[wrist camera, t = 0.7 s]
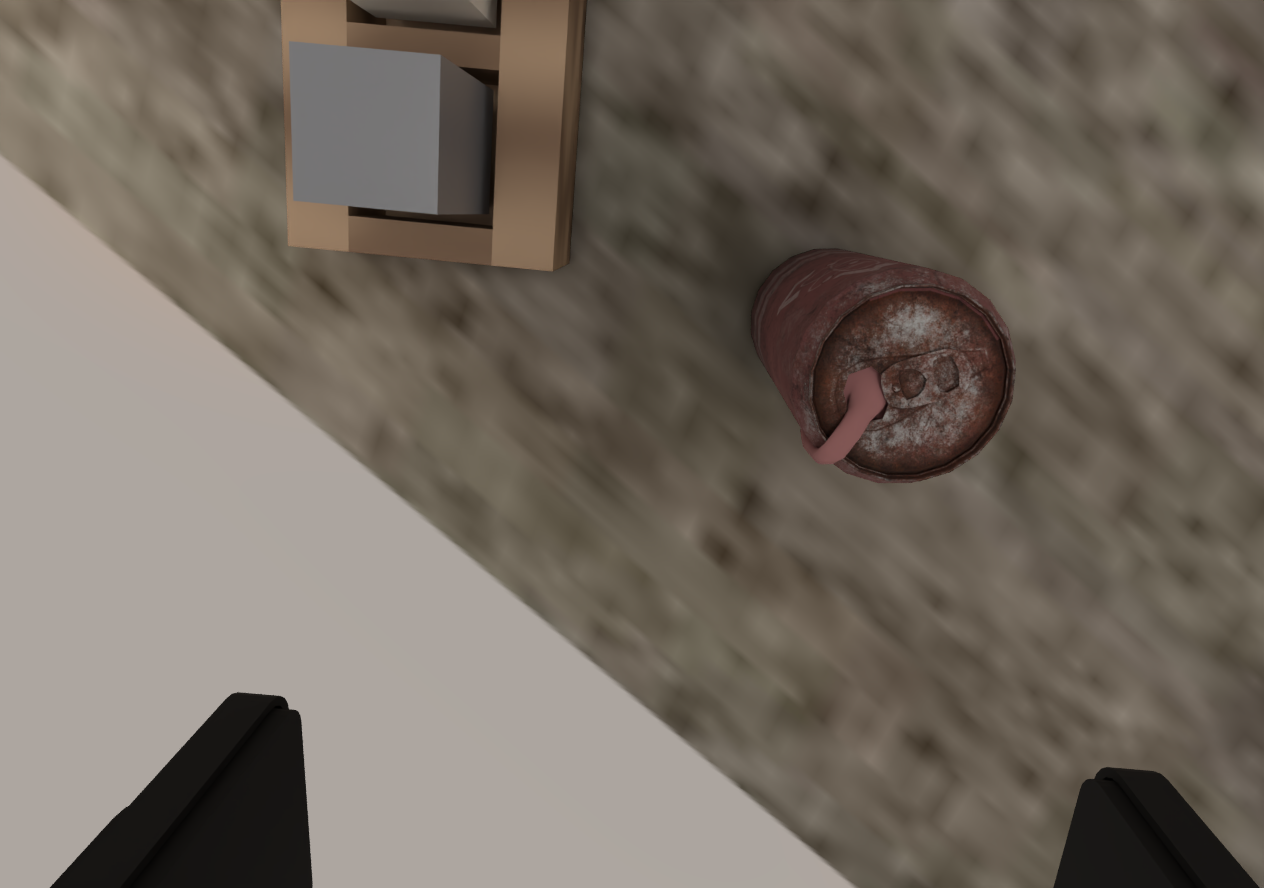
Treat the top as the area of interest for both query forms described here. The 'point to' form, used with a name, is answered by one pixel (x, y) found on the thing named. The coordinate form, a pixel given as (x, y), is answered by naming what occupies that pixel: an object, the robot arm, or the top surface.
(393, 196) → the key charcoal
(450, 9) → the key ivory
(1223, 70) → the top surface
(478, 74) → the brown wooden block rack
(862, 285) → the can
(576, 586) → the top surface
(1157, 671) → the top surface
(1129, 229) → the top surface
